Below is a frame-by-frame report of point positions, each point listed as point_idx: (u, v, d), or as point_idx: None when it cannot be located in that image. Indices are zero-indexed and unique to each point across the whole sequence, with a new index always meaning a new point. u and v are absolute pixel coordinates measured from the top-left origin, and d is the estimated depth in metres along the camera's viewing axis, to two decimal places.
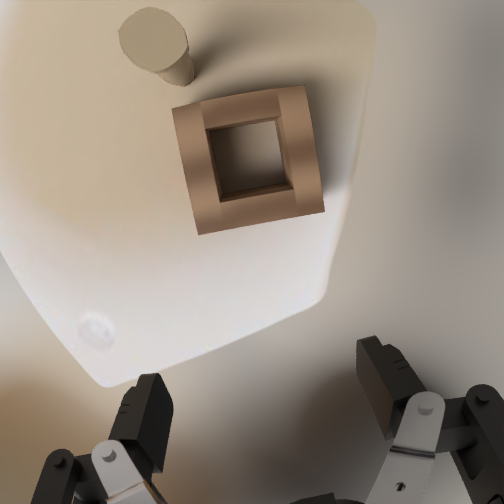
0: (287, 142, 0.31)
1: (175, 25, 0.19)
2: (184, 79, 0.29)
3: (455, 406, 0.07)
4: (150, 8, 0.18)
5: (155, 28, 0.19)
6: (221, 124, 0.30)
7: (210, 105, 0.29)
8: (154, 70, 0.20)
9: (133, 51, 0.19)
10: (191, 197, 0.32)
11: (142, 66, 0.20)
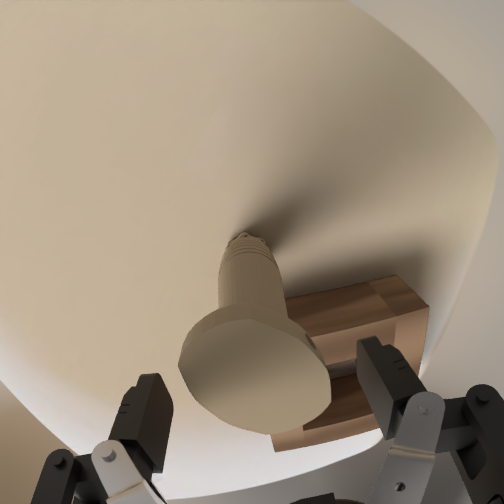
0: None
1: (312, 368, 0.11)
2: None
3: (455, 406, 0.07)
4: (252, 324, 0.10)
5: (267, 371, 0.11)
6: None
7: None
8: (267, 433, 0.12)
9: (223, 407, 0.11)
10: None
11: (244, 427, 0.12)
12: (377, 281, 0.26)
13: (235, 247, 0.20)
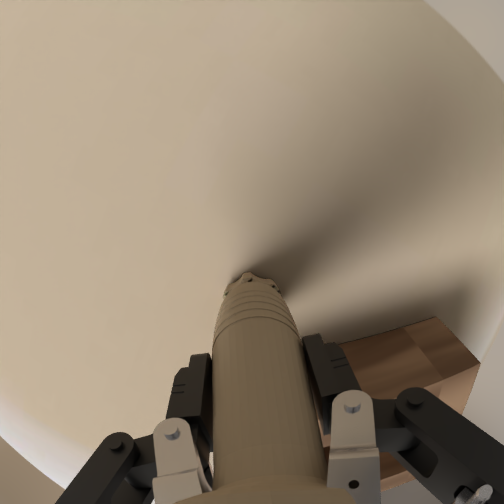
0: None
1: None
2: None
3: (387, 407, 0.08)
4: None
5: None
6: None
7: None
8: None
9: None
10: None
11: None
12: (414, 326, 0.20)
13: (236, 304, 0.14)
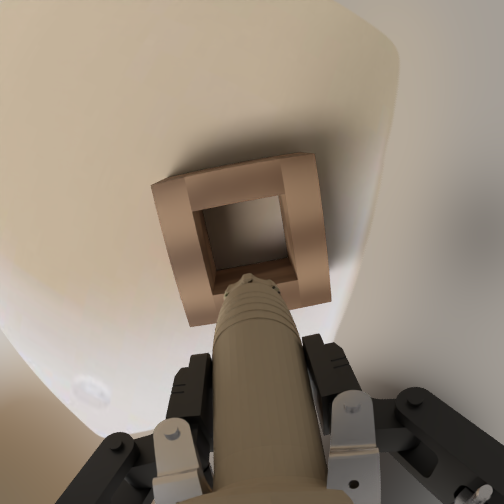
0: (291, 227, 0.27)
1: None
2: None
3: (387, 407, 0.08)
4: None
5: None
6: (211, 206, 0.26)
7: (198, 181, 0.25)
8: None
9: None
10: (180, 289, 0.28)
11: None
12: (279, 155, 0.30)
13: (237, 305, 0.14)
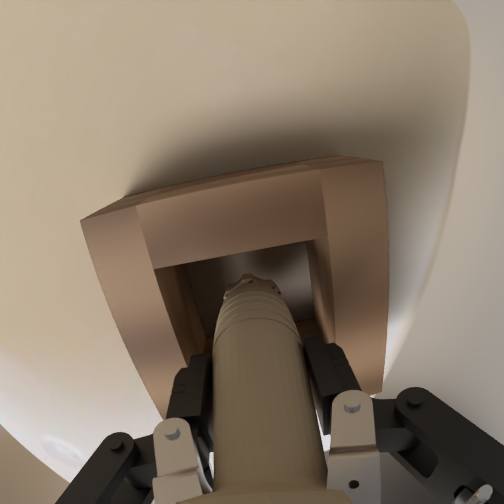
0: (335, 293, 0.15)
1: None
2: None
3: (387, 407, 0.08)
4: None
5: None
6: (189, 259, 0.14)
7: (161, 214, 0.13)
8: None
9: None
10: (146, 384, 0.16)
11: None
12: (308, 160, 0.18)
13: (237, 306, 0.14)
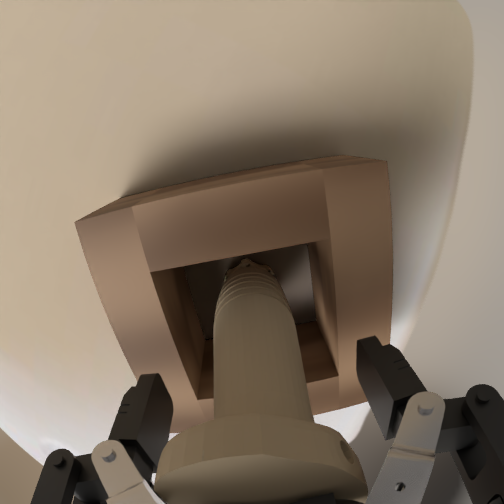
0: (337, 297, 0.14)
1: (348, 487, 0.06)
2: None
3: (455, 406, 0.07)
4: (264, 458, 0.05)
5: (284, 496, 0.06)
6: (187, 262, 0.13)
7: (158, 215, 0.12)
8: None
9: None
10: None
11: None
12: None
13: (235, 284, 0.15)
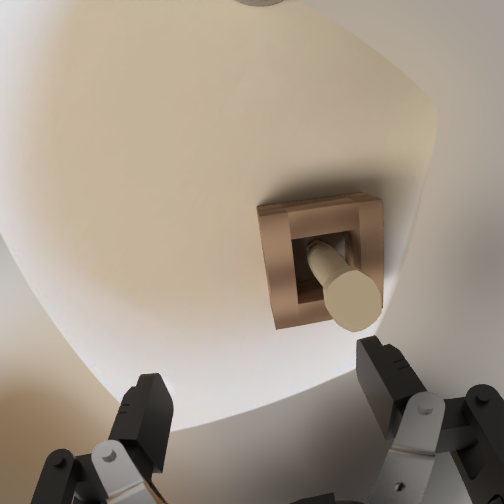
0: (361, 253, 0.35)
1: (375, 293, 0.26)
2: None
3: (455, 406, 0.07)
4: (357, 272, 0.25)
5: (359, 294, 0.26)
6: (306, 235, 0.34)
7: (298, 216, 0.33)
8: (353, 331, 0.27)
9: (338, 314, 0.27)
10: (273, 299, 0.36)
11: (344, 327, 0.27)
12: (347, 194, 0.38)
13: (319, 247, 0.36)
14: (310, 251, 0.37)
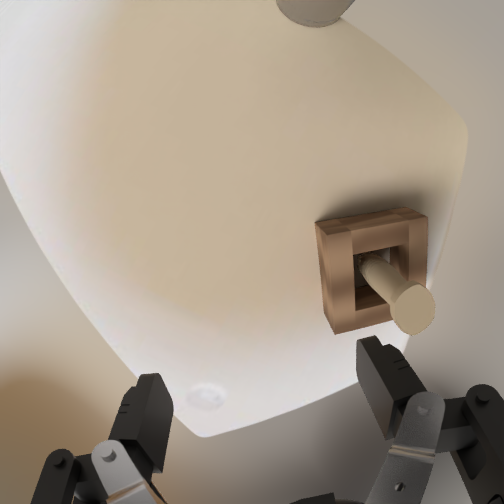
0: (409, 263, 0.37)
1: (431, 302, 0.29)
2: None
3: (455, 406, 0.07)
4: (419, 286, 0.28)
5: (419, 303, 0.29)
6: (365, 251, 0.36)
7: (359, 234, 0.35)
8: (412, 334, 0.30)
9: (402, 321, 0.29)
10: (334, 308, 0.38)
11: (405, 332, 0.30)
12: (393, 209, 0.40)
13: (373, 259, 0.38)
14: (364, 263, 0.40)
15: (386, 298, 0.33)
